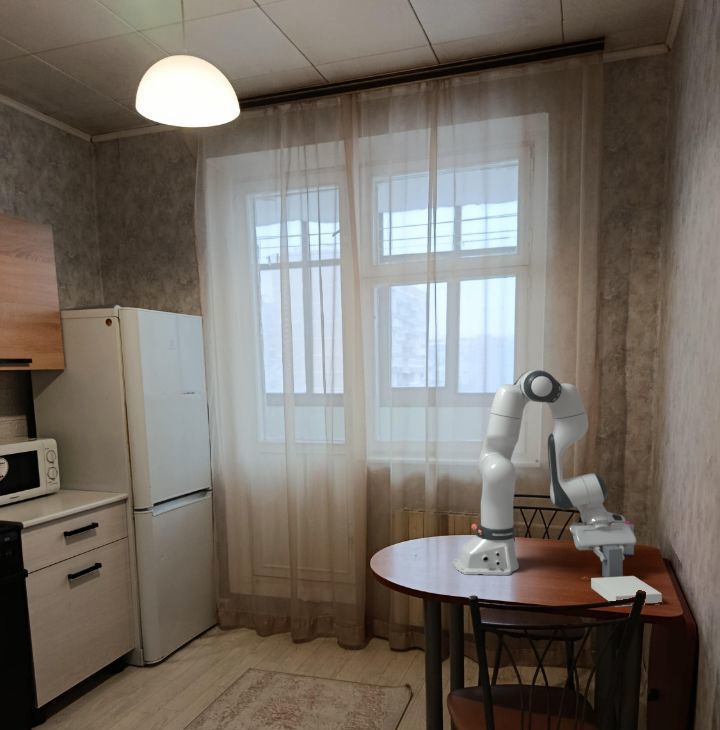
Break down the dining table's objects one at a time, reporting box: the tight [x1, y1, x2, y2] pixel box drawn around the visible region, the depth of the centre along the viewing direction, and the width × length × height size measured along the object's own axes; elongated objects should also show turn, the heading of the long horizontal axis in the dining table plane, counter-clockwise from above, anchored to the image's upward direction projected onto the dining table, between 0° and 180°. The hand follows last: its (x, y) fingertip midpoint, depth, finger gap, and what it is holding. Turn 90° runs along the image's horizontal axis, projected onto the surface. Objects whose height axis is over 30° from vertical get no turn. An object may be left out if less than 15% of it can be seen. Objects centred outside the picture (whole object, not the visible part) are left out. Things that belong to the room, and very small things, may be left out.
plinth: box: [590, 575, 663, 608], centre depth 167 cm, size 14×14×3 cm
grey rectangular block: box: [601, 545, 624, 578], centre depth 182 cm, size 4×4×10 cm
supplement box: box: [623, 520, 635, 557], centre depth 205 cm, size 6×6×12 cm
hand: (613, 560), depth 181 cm, fingers closed on grey rectangular block, 4 cm apart
